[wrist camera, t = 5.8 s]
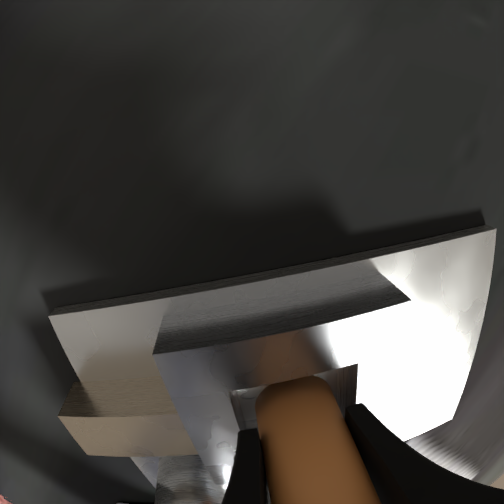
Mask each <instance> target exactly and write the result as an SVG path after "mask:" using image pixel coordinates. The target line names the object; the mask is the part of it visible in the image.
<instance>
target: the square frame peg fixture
mask: <svg viewBox="0 0 504 504" xmlns="http://www.w3.org/2000/svg"><path fill="white" fill-rule="evenodd" d="M411 307H412V300H411V299H410V298H409V297H408V296H407V295H405V294H404V293H403V292H402V291H401V290H400V289H399V288H397V287H396V286H395V285H394V284H393V283H392V282H390V281H389V280H388V279H387V278H386V277H384V276H383V275H382V274H381V273H377V274H373V275H368V276H364V277H360V278H356V279H351V280H347V281H342V282H338V283H333V284H329V285H324V286H320V287H315V288H310V289H305V290H301V291H296V292H291V293H286V294H281V295H276V296H271V297H266V298H261V299H256V300H250V301H245V302H240V303H234V304H229V305H223V306H218V307H212V308H206V309H201V310H195V311H189V312H183V313H177V314H170V315H164V316H163V318H162V321H161V325H160V328H159V332H158V335H157V339H156V343H155V346H154V350H153V354H152V355H153V358H154V360H155V363H156V365H157V368H158V370H159V372H160V375H161V376H154V377H144V378H133V379H120V380H105V381H84V382H74V383H73V385H72V387H71V389H70V391H69V393H68V395H67V398H66V400H65V402H64V404H63V406H62V408H61V410H60V412H59V414H58V417H59V419H60V420H61V421H62V423H63V424H64V426H65V427H66V428H67V430H68V431H69V432H70V434H71V435H72V436H73V438H74V439H75V440H76V441H77V443H78V444H79V445H80V446H81V448H82V449H83V450H84V451H85V453H86V454H87V455H97V456H119V457H157V456H180V455H194V454H199V456H200V458H201V460H202V461H203V463H204V465H205V467H206V469H207V470H208V472H209V474H210V476H211V478H212V479H213V481H214V483H215V484H216V485H223V484H228V482H229V479H230V475H231V471H232V467H233V463H234V458H235V453H236V447H237V437H238V432H239V431H240V430H246V429H252V428H257V429H258V424H257V419H254V420H248V421H245V419H244V416H243V412H242V409H241V405H240V402H239V398H238V395H237V391H236V390H241V389H247V388H253V387H258V386H264V385H269V384H274V383H279V382H283V381H288V380H293V379H297V378H301V377H306V376H310V375H314V374H318V373H322V372H326V371H330V370H334V369H337V401H336V402H337V404H338V406H339V408H340V410H341V413H342V415H343V417H344V419H345V407H348V406H351V405H354V404H358V403H363V404H364V405H365V406H366V407H367V408H368V409H369V410H370V411H371V412H372V413H373V414H374V415H375V416H376V417H377V418H378V419H379V420H380V421H381V422H382V423H383V424H384V425H385V426H386V427H387V428H388V429H390V430H391V429H392V425H393V421H394V417H395V412H396V408H397V403H398V398H399V393H400V388H401V382H402V377H403V371H404V364H405V358H406V351H407V344H408V336H409V327H410V318H411ZM258 433H259V430H258Z"/></svg>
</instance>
